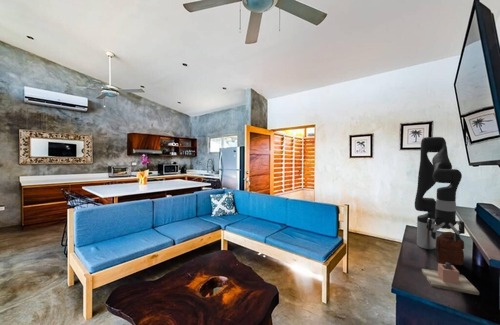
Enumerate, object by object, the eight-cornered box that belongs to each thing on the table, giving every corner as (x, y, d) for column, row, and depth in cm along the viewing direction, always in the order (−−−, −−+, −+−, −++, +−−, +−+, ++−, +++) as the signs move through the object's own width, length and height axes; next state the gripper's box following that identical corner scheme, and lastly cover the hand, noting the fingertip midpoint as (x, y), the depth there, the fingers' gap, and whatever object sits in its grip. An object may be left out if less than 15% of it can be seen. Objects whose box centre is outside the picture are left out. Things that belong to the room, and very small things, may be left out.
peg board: (421, 271, 115) (422, 254, 114) (462, 277, 108) (463, 259, 107) (431, 286, 102) (432, 267, 101) (479, 295, 95) (479, 274, 95)
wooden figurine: (456, 260, 124) (457, 230, 123) (465, 266, 118) (466, 235, 117) (433, 258, 127) (433, 229, 126) (440, 264, 121) (441, 233, 120)
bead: (437, 274, 109) (437, 263, 108) (452, 277, 106) (453, 265, 106) (442, 281, 103) (443, 269, 103) (458, 284, 101) (459, 271, 101)
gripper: (460, 207, 106) (459, 238, 108) (425, 205, 112) (424, 235, 113) (468, 212, 100) (467, 245, 101) (430, 209, 105) (429, 240, 106)
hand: (444, 239), depth 107 cm, fingers open, 8 cm apart
